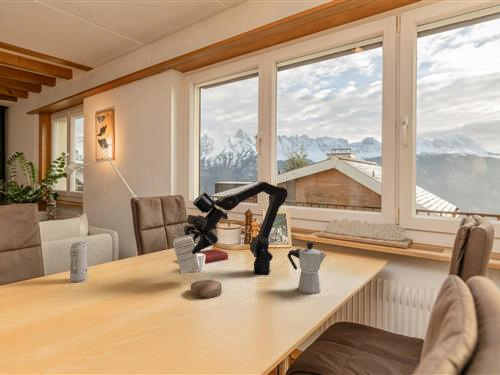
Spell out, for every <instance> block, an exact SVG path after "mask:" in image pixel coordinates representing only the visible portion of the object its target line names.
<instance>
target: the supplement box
mask: <svg viewBox="0 0 500 375" xmlns="http://www.w3.org/2000/svg"><path fill="white" fill-rule="evenodd" d="M172 244H173V248H174V249H173V250H174V253H175V257H176V260H177V264H178V268H179V271H180V274H186V273H189V272H190V273H191V272H193V271H194V270H197V269H199V268H200V263H199V259H198V255H197V253H195V254H193V253H192V251H193V249H194V248H195V246H196V244H195V241H194V240H193V236H192V234H190V235H186V236H185V235H184V236H179V237H175V238H174V240H173V242H172Z"/></svg>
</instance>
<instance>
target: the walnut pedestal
mask: <svg viewBox="0 0 500 375" xmlns="http://www.w3.org/2000/svg"><path fill="white" fill-rule="evenodd" d="M222 284H223V283H222V282H220V281H218V280H214V279H202V280H201V279H200V280H197V281H194V282H191V283H190V296H192V297H194V298H196V299H202V300H203V299H205V300H208V299H214V298H218V297H219V296H220V295H222V292H223V291H222V288H223V285H222Z"/></svg>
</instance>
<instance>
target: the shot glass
mask: <svg viewBox="0 0 500 375" xmlns="http://www.w3.org/2000/svg"><path fill="white" fill-rule="evenodd" d="M197 255H198V259H199V263H200V268H199V269H197V270H194V271H192V272H193V273H202V272H204V271H205V265H206V264H205V256H206V255H205V254H202V253H197Z"/></svg>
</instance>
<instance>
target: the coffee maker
mask: <svg viewBox="0 0 500 375" xmlns="http://www.w3.org/2000/svg"><path fill="white" fill-rule="evenodd" d="M306 245H307V248H304V249H301V248H296V249H295V250H294V249H291V250H289V251H288V254H287V255H286V256H287V258H288V260H289V262H290V264H291V265H292V267H293V269H294V270H295V271H296V270H298V266H297V265H296V263H295V261H294V259H293V257H295V258H297V259H299V260H298V262H299V268H300V269H301V272H300V274H299V275H300V276H299V281H298V286H297V291H299V292H300V293H303V294H307V295H308V294H309V295H316V294H320V293H321V282H320V275H319V270H320V268H321V264H322V263H323V261H324V259H325V258H326V256H328V254H326V253H324V252H321V250H318V249H314V248H313V246H314V241H313V242H312V241H307V242H306ZM292 256H293V257H292Z"/></svg>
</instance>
